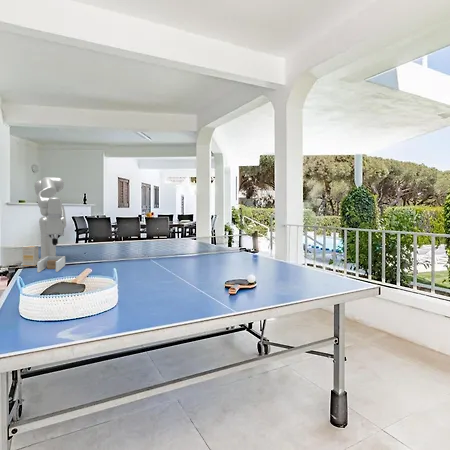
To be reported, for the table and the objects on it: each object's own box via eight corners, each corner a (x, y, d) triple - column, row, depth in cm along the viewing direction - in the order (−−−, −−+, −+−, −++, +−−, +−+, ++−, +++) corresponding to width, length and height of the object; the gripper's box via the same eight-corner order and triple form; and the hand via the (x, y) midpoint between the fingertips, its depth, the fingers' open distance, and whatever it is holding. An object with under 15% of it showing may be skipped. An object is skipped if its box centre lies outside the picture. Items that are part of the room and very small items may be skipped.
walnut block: (49, 267, 219) (49, 260, 218) (57, 267, 220) (57, 259, 220) (47, 269, 214) (47, 261, 214) (56, 269, 215) (55, 261, 215)
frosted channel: (47, 265, 226) (47, 256, 226) (65, 265, 229) (65, 256, 229) (37, 272, 203) (37, 262, 203) (57, 271, 206) (57, 262, 206)
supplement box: (39, 265, 225) (38, 245, 224) (34, 267, 220) (34, 246, 219) (27, 265, 226) (27, 245, 225) (22, 266, 221) (21, 246, 220)
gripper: (68, 216, 228) (68, 244, 229) (43, 216, 224) (43, 244, 225) (66, 216, 221) (66, 245, 221) (40, 216, 217) (40, 245, 217)
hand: (55, 244), depth 223 cm, fingers closed
